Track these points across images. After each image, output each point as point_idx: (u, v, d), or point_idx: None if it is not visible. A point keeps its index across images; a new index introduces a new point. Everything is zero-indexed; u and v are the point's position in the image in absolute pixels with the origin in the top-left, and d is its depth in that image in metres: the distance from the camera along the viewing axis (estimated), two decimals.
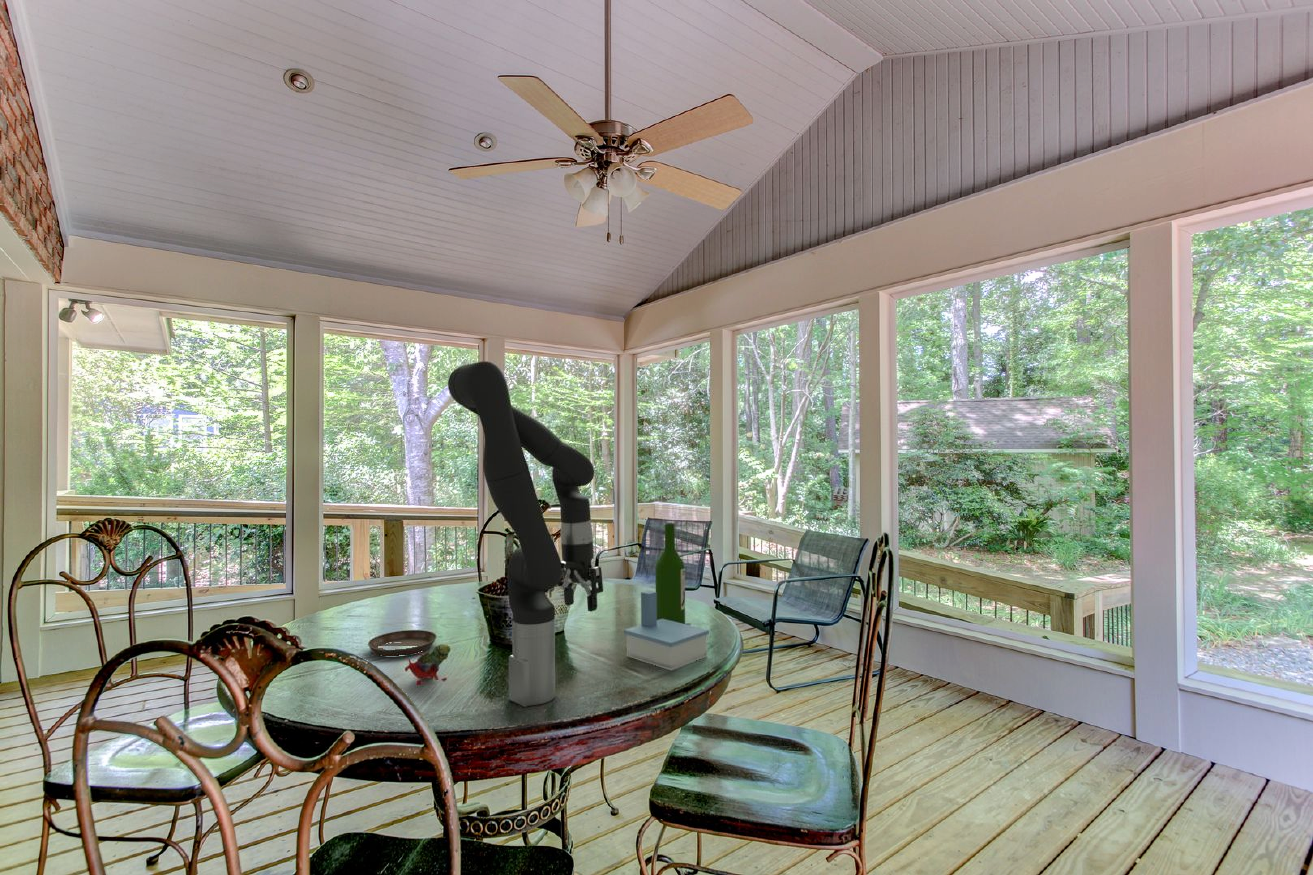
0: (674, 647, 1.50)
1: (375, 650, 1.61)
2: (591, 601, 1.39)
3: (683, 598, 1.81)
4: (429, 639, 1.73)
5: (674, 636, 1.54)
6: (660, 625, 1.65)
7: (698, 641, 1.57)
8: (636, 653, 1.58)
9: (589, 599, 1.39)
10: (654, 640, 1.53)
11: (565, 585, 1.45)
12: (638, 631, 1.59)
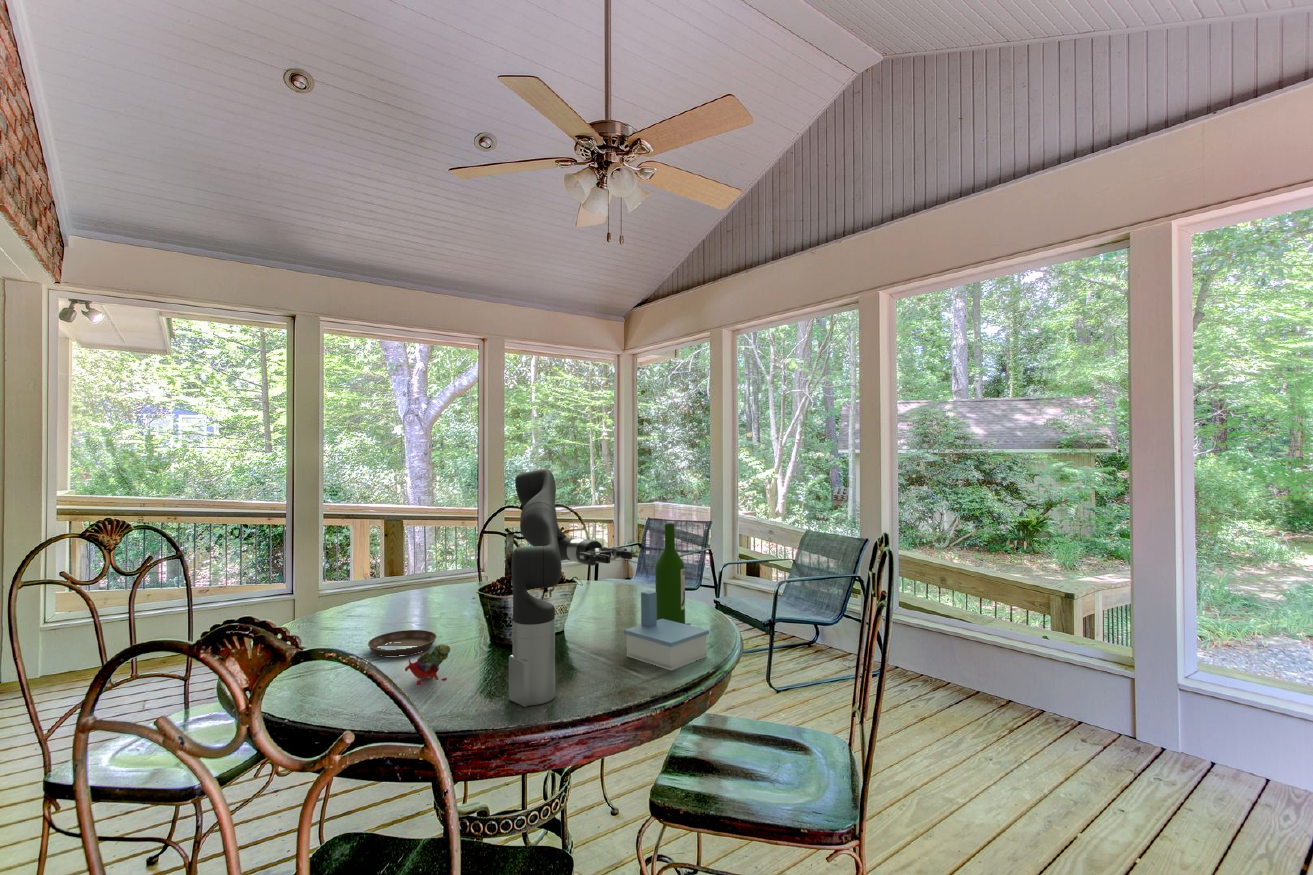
0: (674, 647, 1.50)
1: (375, 650, 1.61)
2: None
3: (683, 598, 1.81)
4: (429, 639, 1.73)
5: (674, 636, 1.54)
6: (660, 625, 1.65)
7: (698, 641, 1.57)
8: (636, 653, 1.58)
9: None
10: (654, 640, 1.53)
11: (598, 553, 1.74)
12: (638, 631, 1.59)
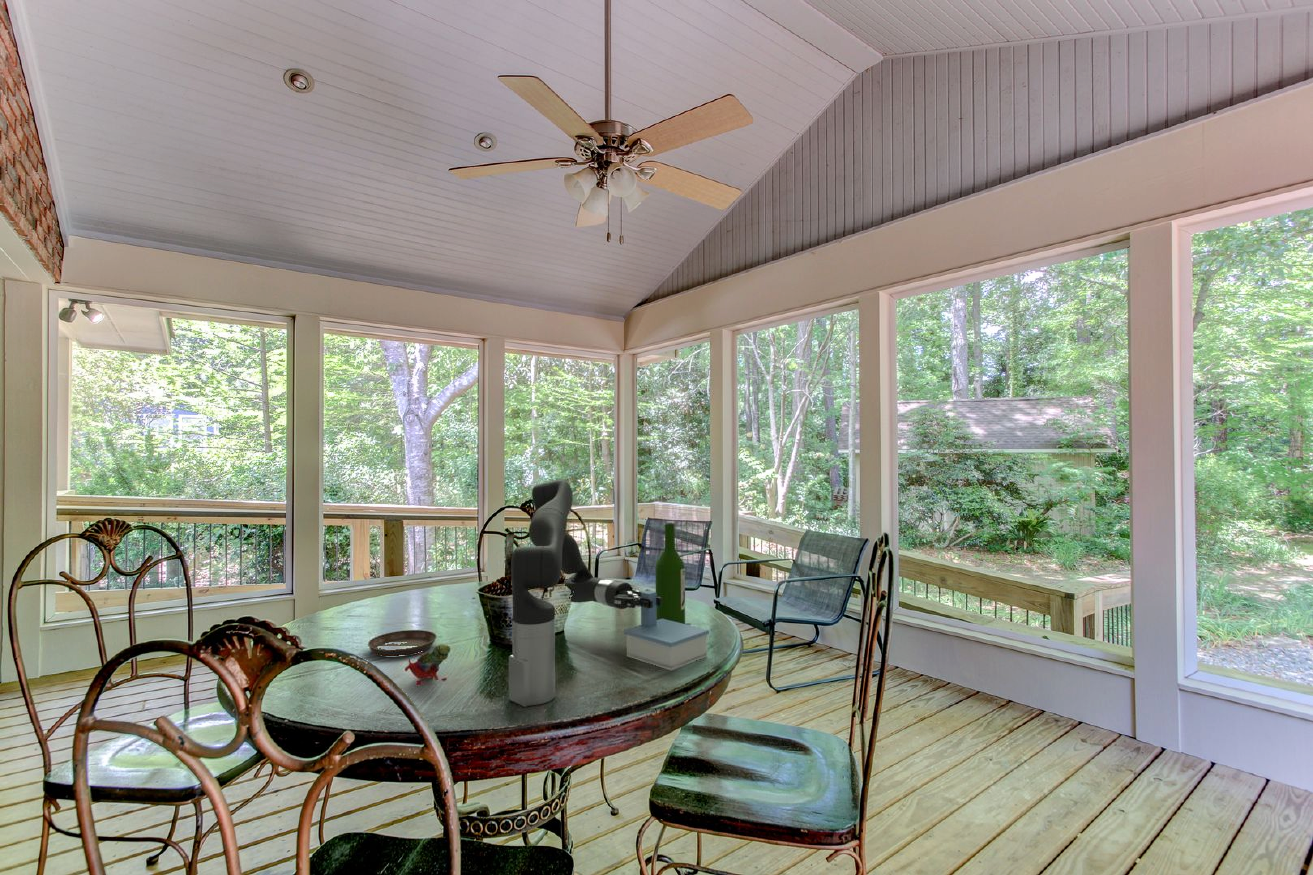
0: (674, 647, 1.50)
1: (375, 650, 1.61)
2: None
3: (683, 598, 1.81)
4: (429, 639, 1.73)
5: (674, 636, 1.54)
6: (660, 625, 1.65)
7: (698, 641, 1.57)
8: (636, 653, 1.58)
9: None
10: (654, 640, 1.53)
11: (638, 596, 1.65)
12: (638, 631, 1.59)
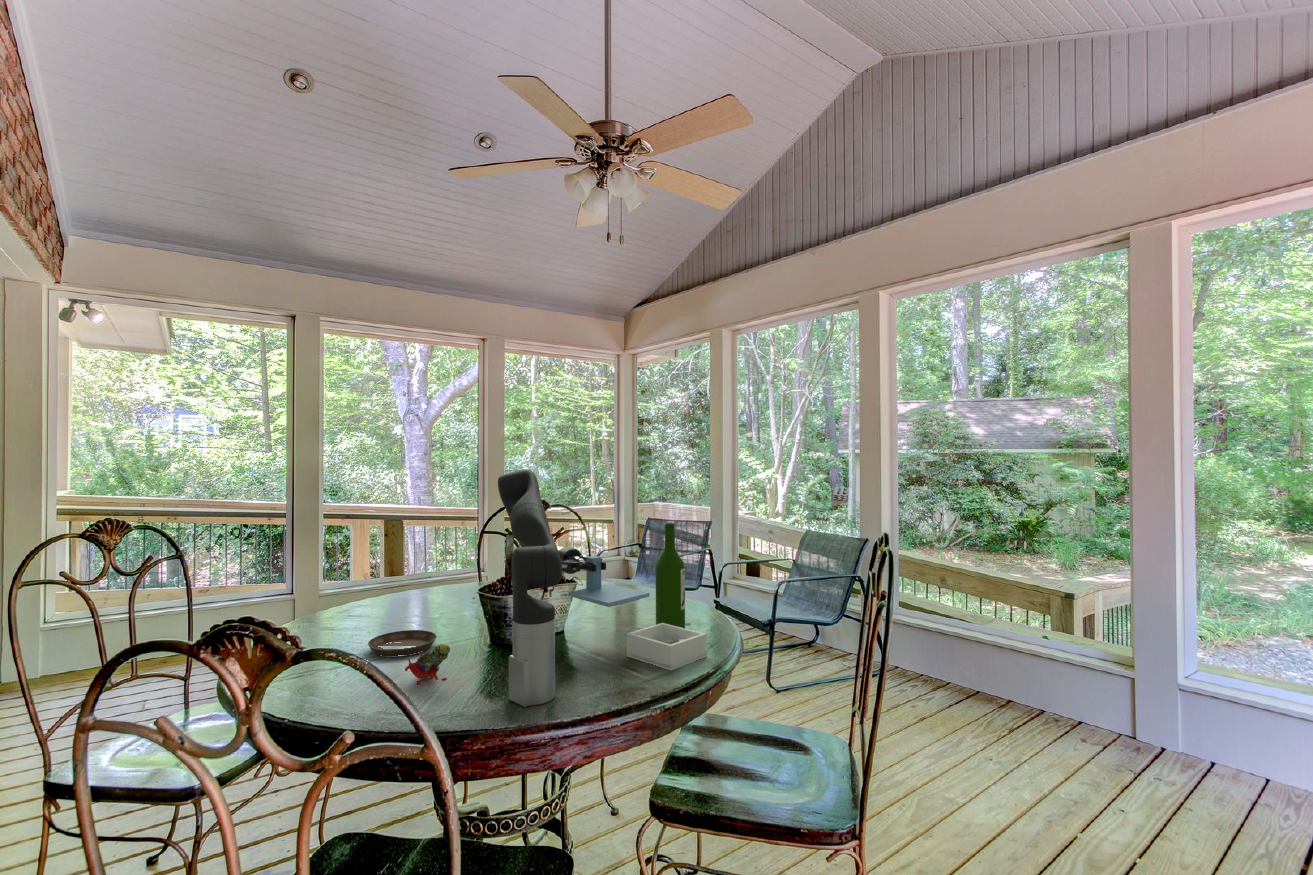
0: (674, 647, 1.50)
1: (375, 650, 1.61)
2: (601, 562, 1.73)
3: (683, 598, 1.81)
4: (429, 639, 1.73)
5: (614, 598, 1.60)
6: (604, 588, 1.71)
7: (698, 641, 1.57)
8: (636, 653, 1.58)
9: None
10: (594, 601, 1.59)
11: (583, 561, 1.72)
12: (581, 593, 1.65)
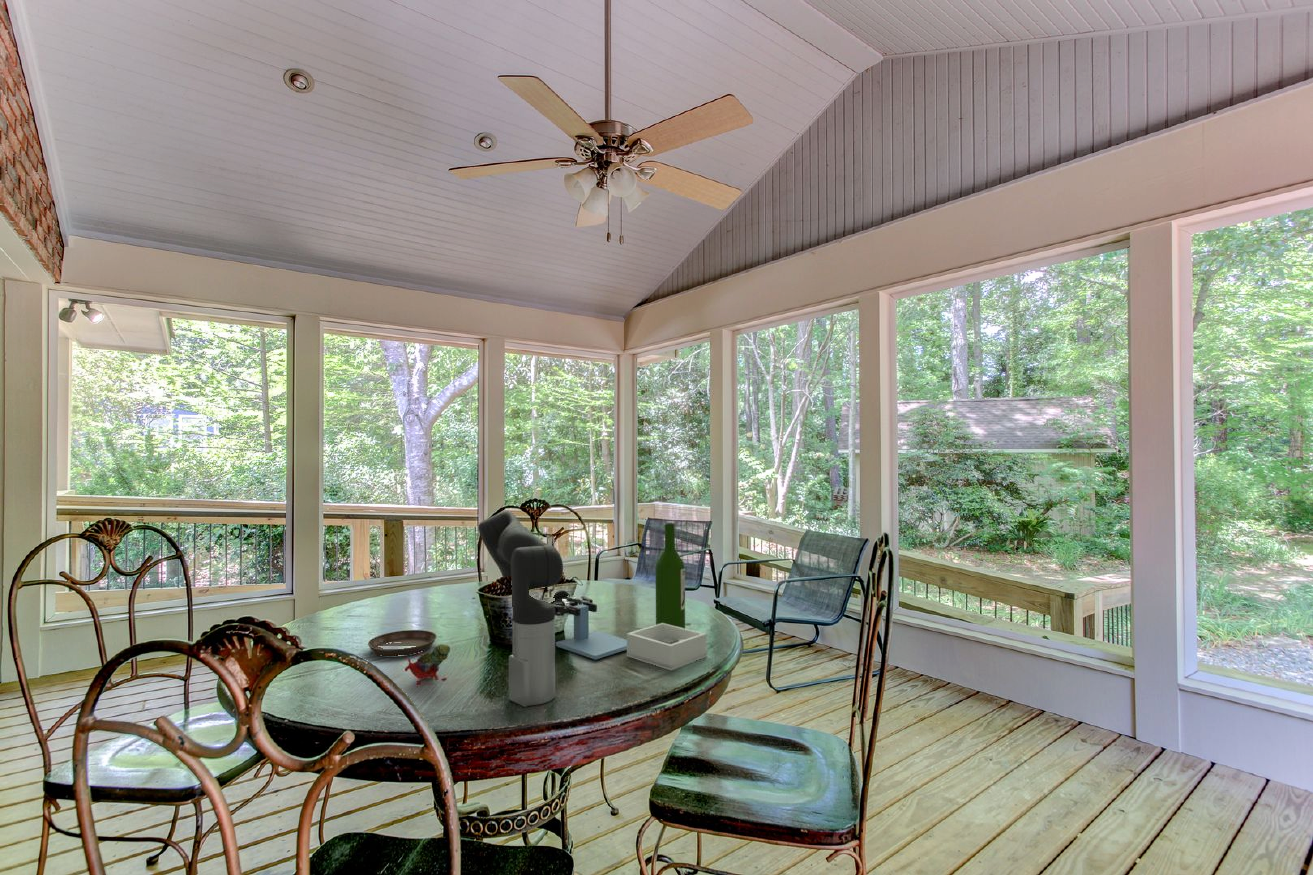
0: (674, 647, 1.50)
1: (375, 650, 1.61)
2: None
3: (683, 598, 1.81)
4: (429, 639, 1.73)
5: (601, 649, 1.61)
6: (591, 637, 1.72)
7: (698, 641, 1.57)
8: (636, 653, 1.58)
9: None
10: (581, 653, 1.60)
11: (568, 604, 1.72)
12: (569, 644, 1.66)
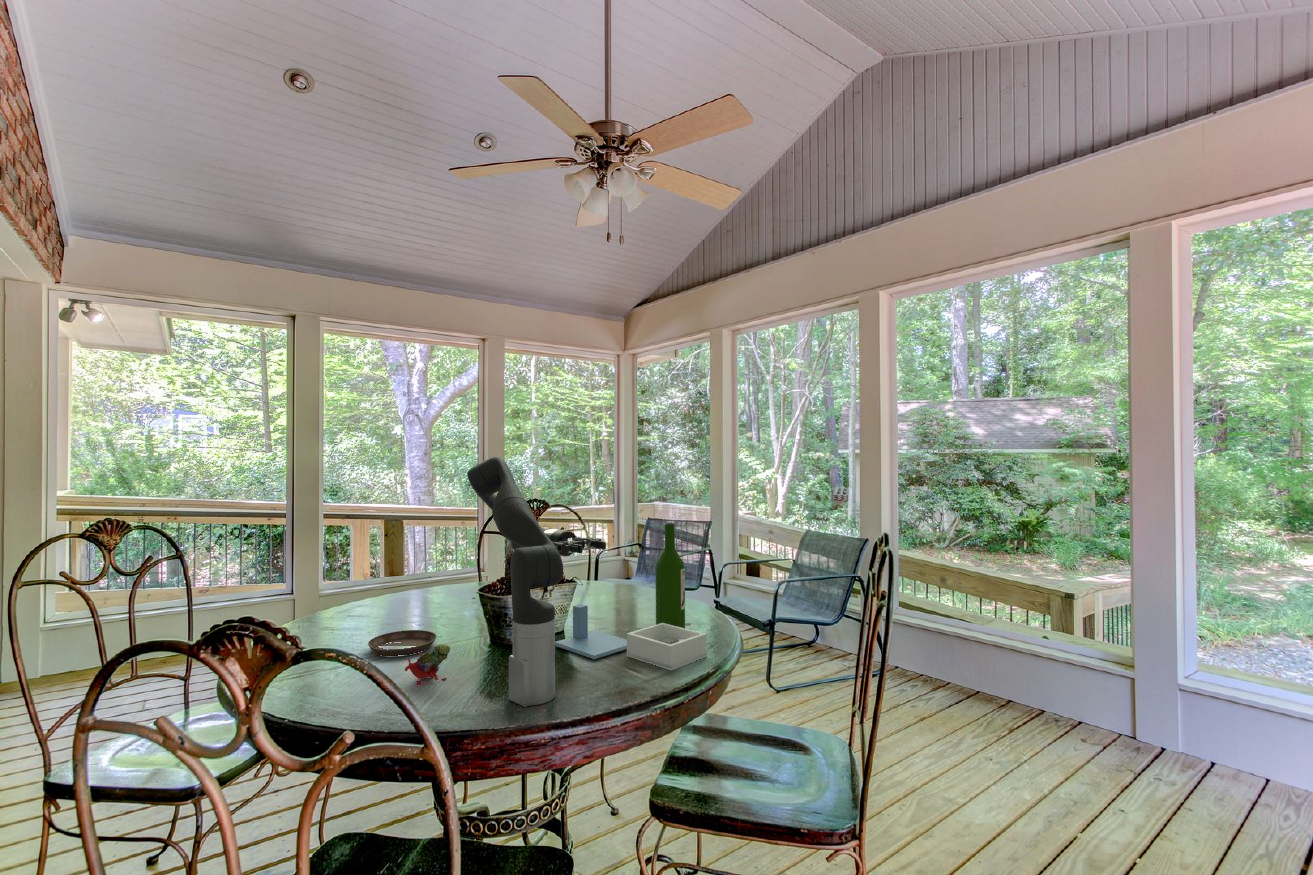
0: (674, 647, 1.50)
1: (375, 650, 1.61)
2: None
3: (683, 598, 1.81)
4: (429, 639, 1.73)
5: (600, 649, 1.61)
6: (591, 637, 1.72)
7: (698, 641, 1.57)
8: (636, 653, 1.58)
9: None
10: (580, 652, 1.60)
11: (571, 543, 1.68)
12: (568, 643, 1.66)
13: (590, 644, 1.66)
